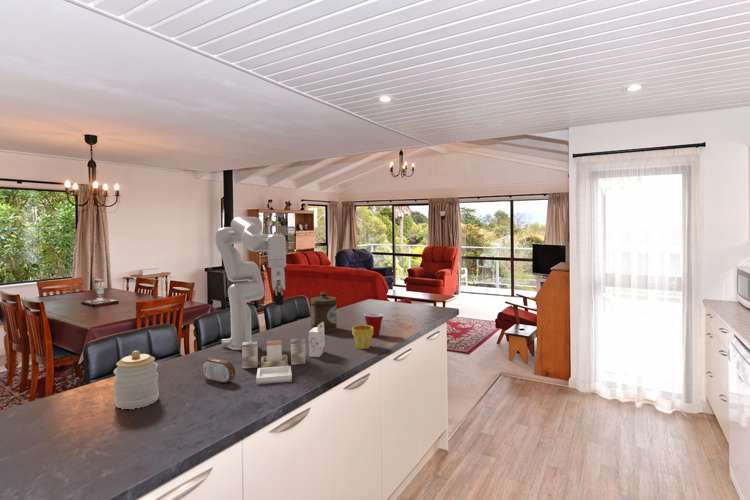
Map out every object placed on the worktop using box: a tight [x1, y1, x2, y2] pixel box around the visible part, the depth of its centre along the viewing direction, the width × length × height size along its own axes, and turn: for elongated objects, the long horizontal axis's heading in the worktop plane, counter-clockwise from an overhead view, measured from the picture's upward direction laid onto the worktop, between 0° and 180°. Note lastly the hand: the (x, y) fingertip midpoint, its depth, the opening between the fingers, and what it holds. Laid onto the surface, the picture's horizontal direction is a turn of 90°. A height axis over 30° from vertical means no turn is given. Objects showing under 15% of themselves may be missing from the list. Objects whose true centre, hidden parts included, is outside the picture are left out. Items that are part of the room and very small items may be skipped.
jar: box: [113, 350, 160, 410], centre depth 140 cm, size 13×13×18 cm
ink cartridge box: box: [308, 322, 326, 358], centre depth 192 cm, size 9×5×15 cm, turn 168°
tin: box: [201, 356, 236, 384], centre depth 159 cm, size 15×3×8 cm, turn 65°
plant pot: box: [351, 324, 373, 350], centre depth 203 cm, size 10×10×10 cm
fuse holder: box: [241, 337, 307, 369], centre depth 178 cm, size 26×9×10 cm, turn 103°
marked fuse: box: [266, 339, 283, 362], centre depth 178 cm, size 6×4×10 cm, turn 103°
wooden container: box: [309, 291, 338, 334], centre depth 236 cm, size 15×15×22 cm
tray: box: [255, 365, 293, 385], centre depth 162 cm, size 13×11×2 cm
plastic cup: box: [363, 312, 385, 338], centre depth 224 cm, size 11×11×12 cm
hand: (278, 303), depth 178 cm, fingers open, 9 cm apart
